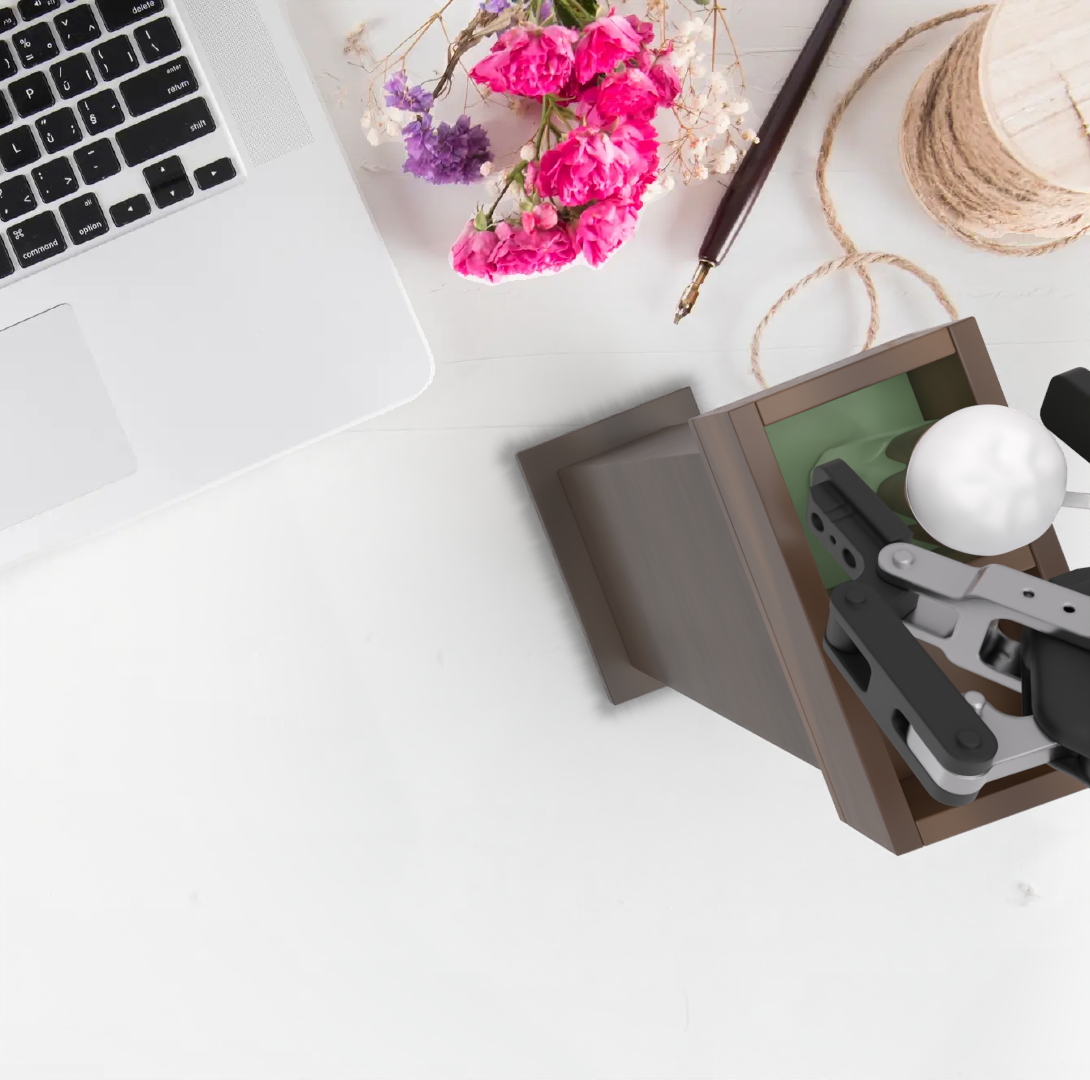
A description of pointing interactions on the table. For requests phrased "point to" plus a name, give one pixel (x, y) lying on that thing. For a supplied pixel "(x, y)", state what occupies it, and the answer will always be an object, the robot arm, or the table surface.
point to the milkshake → (967, 478)
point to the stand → (659, 568)
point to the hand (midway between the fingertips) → (937, 436)
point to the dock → (812, 573)
